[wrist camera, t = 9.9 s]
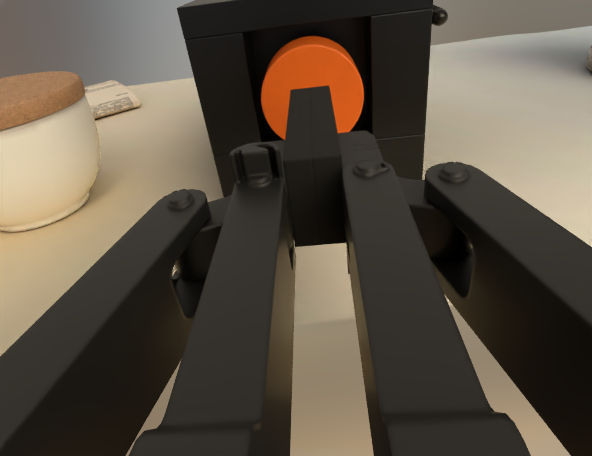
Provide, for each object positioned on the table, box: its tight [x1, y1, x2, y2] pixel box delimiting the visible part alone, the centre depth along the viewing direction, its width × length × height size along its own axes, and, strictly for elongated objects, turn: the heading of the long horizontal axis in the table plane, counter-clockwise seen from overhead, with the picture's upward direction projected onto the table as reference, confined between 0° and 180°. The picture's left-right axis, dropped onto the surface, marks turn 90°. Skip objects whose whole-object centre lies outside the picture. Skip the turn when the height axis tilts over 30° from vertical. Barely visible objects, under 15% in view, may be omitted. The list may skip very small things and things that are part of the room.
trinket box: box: [0, 72, 101, 232], centre depth 26 cm, size 11×11×9 cm
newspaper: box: [84, 80, 141, 119], centre depth 46 cm, size 23×12×2 cm, turn 127°
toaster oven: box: [177, 0, 448, 198], centre depth 29 cm, size 17×14×11 cm
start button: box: [261, 36, 364, 140], centre depth 21 cm, size 2×5×5 cm, turn 89°
